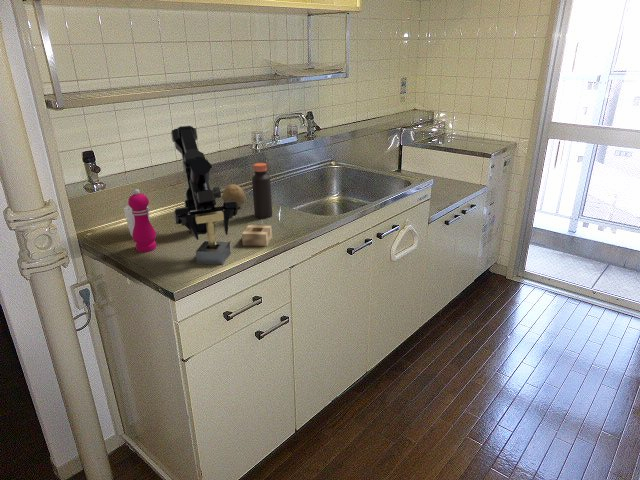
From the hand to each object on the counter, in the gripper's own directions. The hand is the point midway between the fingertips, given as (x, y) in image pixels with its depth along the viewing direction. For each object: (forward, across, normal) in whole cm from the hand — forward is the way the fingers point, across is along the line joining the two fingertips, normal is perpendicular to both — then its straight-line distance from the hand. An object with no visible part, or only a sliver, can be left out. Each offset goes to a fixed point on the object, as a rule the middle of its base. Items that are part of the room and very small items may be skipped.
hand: (212, 236), depth 141 cm
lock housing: (+4, 0, +6) cm, 8 cm away
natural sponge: (-28, +17, +39) cm, 51 cm away
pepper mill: (-8, -19, +19) cm, 28 cm away
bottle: (-18, +25, +29) cm, 42 cm away
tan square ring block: (-1, +16, +12) cm, 20 cm away
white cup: (-18, -20, +29) cm, 40 cm away
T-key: (+4, 0, +6) cm, 8 cm away
